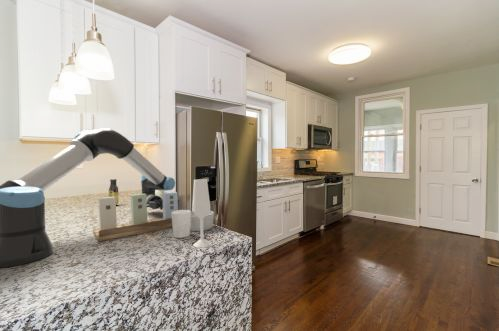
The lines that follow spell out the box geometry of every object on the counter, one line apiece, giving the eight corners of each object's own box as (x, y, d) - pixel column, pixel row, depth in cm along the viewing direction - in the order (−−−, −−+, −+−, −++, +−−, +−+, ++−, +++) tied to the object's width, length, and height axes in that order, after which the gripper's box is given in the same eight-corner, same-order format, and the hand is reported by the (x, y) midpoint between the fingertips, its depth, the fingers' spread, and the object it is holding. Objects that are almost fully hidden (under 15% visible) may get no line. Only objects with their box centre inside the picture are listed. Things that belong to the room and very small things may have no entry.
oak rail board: (93, 232, 107) (93, 223, 107) (172, 219, 130) (171, 211, 130) (98, 241, 95) (97, 231, 95) (184, 224, 117) (183, 216, 117)
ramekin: (179, 229, 109) (178, 214, 109) (200, 223, 120) (199, 209, 120) (200, 234, 102) (199, 217, 101) (220, 226, 112) (220, 211, 112)
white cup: (195, 235, 100) (194, 211, 100) (178, 239, 94) (177, 214, 94) (185, 231, 105) (184, 209, 105) (168, 236, 100) (167, 212, 99)
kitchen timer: (150, 206, 171) (150, 185, 171) (148, 203, 183) (147, 184, 183) (170, 204, 178) (170, 184, 178) (167, 201, 190) (166, 182, 190)
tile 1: (99, 229, 105) (98, 198, 105) (115, 227, 109) (113, 196, 109) (101, 231, 102) (99, 199, 102) (116, 228, 106) (115, 197, 106)
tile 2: (131, 224, 113) (130, 194, 113) (144, 221, 117) (144, 193, 117) (133, 225, 110) (132, 195, 110) (147, 223, 114) (146, 194, 114)
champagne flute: (205, 239, 93) (203, 178, 93) (215, 244, 88) (213, 179, 88) (189, 244, 89) (187, 179, 88) (199, 248, 84) (197, 180, 83)
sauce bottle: (107, 206, 175) (106, 179, 174) (116, 205, 179) (116, 178, 179) (110, 207, 170) (109, 179, 170) (120, 205, 175) (119, 178, 174)
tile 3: (163, 221, 117) (162, 193, 117) (175, 219, 121) (174, 191, 121) (166, 223, 114) (165, 193, 114) (178, 220, 118) (177, 192, 117)
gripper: (165, 206, 142) (181, 212, 123) (142, 209, 133) (155, 216, 115) (164, 194, 142) (181, 198, 123) (141, 196, 133) (155, 201, 115)
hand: (168, 207), depth 119 cm, fingers closed
